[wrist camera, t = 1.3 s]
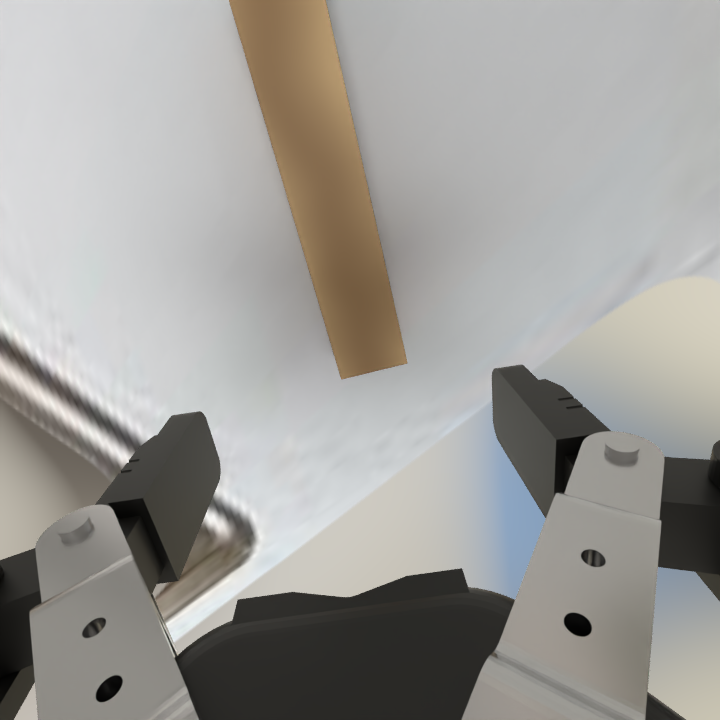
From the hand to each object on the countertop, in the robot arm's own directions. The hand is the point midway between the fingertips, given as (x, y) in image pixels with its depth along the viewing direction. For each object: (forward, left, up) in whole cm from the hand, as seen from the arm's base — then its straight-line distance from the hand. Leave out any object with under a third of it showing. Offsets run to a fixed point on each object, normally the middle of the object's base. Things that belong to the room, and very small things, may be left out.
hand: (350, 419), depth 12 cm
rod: (0, -5, -14) cm, 15 cm away
